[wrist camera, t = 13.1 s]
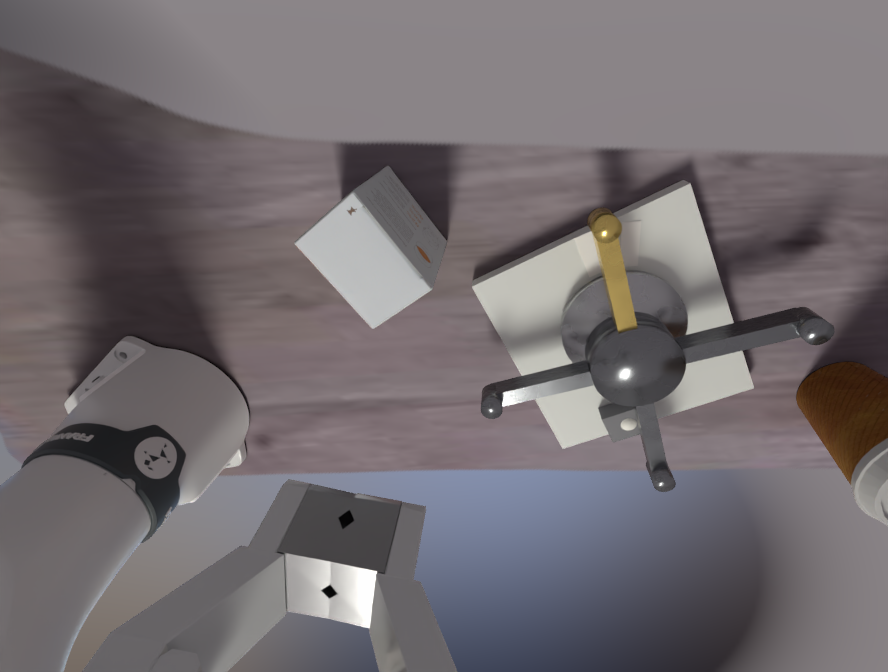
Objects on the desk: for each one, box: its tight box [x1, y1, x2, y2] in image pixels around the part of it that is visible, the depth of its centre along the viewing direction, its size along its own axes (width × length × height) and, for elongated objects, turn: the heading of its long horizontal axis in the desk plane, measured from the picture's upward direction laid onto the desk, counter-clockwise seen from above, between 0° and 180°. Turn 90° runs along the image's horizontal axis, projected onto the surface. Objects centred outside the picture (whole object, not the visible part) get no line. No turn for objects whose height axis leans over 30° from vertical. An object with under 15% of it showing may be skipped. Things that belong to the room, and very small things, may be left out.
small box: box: [294, 166, 447, 329], centre depth 34 cm, size 8×6×10 cm
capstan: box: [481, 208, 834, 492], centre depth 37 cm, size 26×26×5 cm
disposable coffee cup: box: [796, 362, 888, 526], centre depth 36 cm, size 10×10×12 cm
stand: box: [472, 180, 754, 449], centre depth 39 cm, size 18×20×4 cm
